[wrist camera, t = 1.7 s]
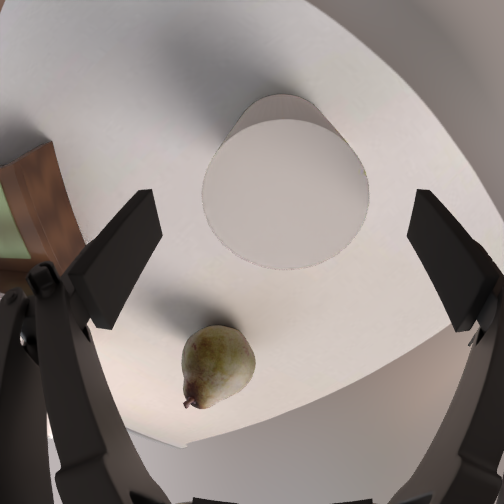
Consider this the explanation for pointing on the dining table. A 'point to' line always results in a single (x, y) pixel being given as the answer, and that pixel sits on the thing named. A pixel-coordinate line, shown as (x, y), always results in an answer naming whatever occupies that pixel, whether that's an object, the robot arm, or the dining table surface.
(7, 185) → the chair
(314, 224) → the white round cylinder
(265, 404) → the dining table surface
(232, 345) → the fruit
